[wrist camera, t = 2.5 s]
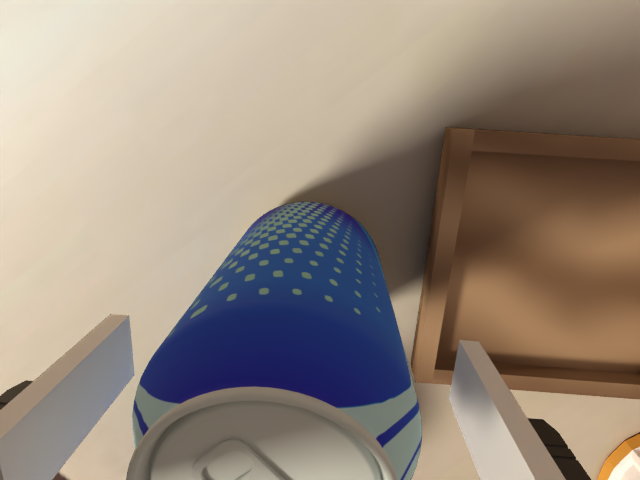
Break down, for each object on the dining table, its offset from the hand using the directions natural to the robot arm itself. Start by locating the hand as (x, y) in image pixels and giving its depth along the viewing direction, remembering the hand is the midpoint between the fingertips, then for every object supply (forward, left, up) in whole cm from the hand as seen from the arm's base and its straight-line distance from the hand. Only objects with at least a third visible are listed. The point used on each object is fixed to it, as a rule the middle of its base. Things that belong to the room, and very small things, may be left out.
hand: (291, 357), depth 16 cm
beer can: (0, 0, -9) cm, 9 cm away
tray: (-1, +15, -9) cm, 17 cm away
